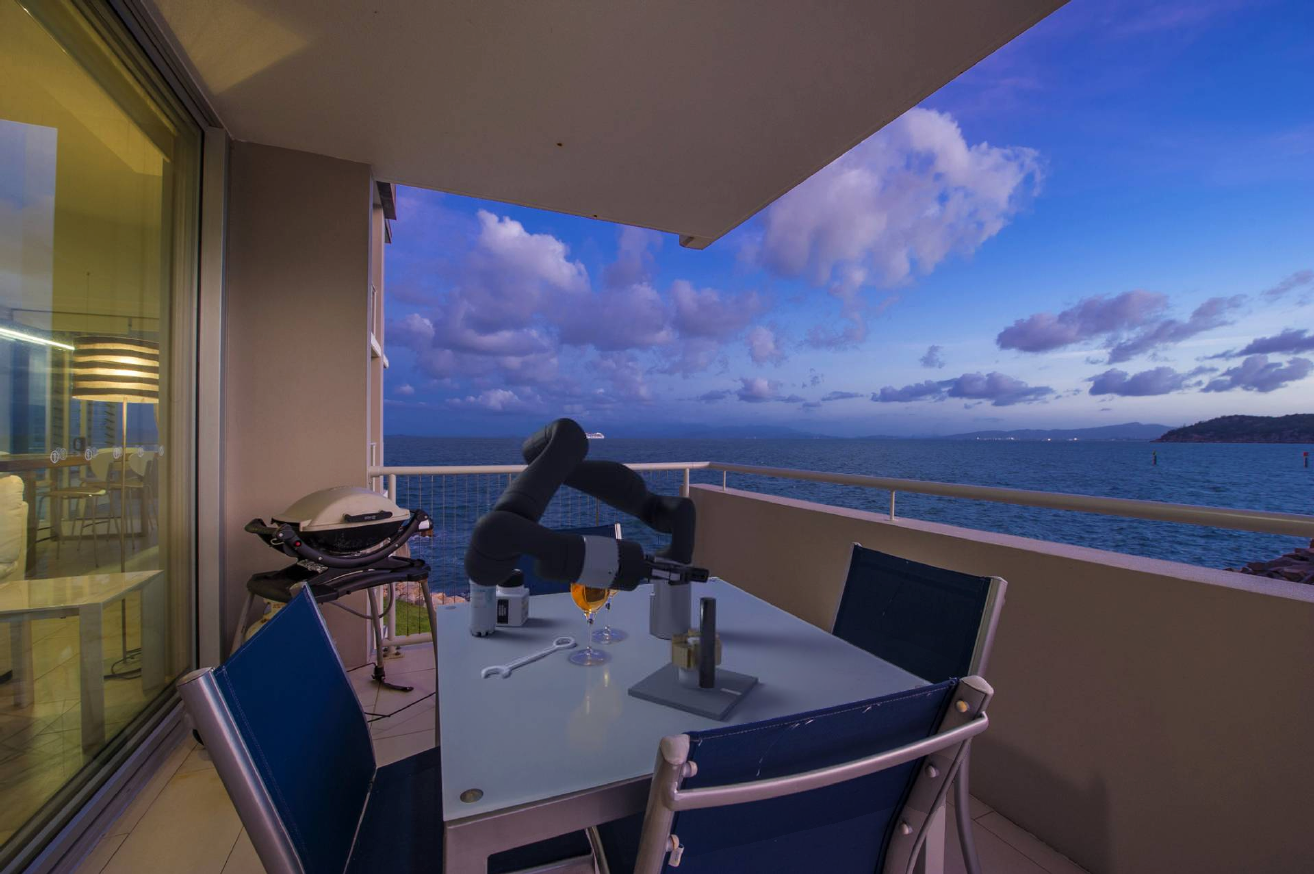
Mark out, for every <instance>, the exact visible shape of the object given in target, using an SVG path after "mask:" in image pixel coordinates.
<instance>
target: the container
mask: <svg viewBox="0 0 1314 874" xmlns="http://www.w3.org/2000/svg"><path fill="white" fill-rule="evenodd" d="M497 589H498V590H496V627H522V626H523V625H524V623H525V622H526V621H527V619H528V618H529V611H530V608H529V607H530V606H529V605H530V589H529V588H528V587H526V588H525V572H524V571H522V570H521V569H517V568H515V570H514V572H513V574H512V575H511V576H510V577H509V578H508V579H507V580H506V581H505V582H503V583H501V584H499V585H497Z"/></svg>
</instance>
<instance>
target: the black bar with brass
mask: <svg viewBox="0 0 1314 874" xmlns="http://www.w3.org/2000/svg"><path fill="white" fill-rule="evenodd" d="M716 618H717V598H715V597H711V596H705V597H704V596H703V597H700V598H699V629H698V628H697V627H695V628H693V627H691V628H688V633H684V634H672V637H671V638H670V639H669V641H670V643H669V644H670V646H669V649H670V650H669V657H670V662H672V663H674V665H676V666H679V667H682V668H685V669H688V668H690V670H695V672H696V675H697V677H698V680H699V686H700V687H701V688H702V690H713V688H714V687H715V668H717V667H718V666H719V665H721V664H722V642H721V640H720V635H719V634H718V633H717V632H716V630H717V628H716V627H717V624H716V623H717V619H716ZM691 637H699V638H700V640H693V645H690V644H687V639H688V638H691Z"/></svg>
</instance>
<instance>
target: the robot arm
mask: <svg viewBox="0 0 1314 874" xmlns="http://www.w3.org/2000/svg"><path fill="white" fill-rule="evenodd" d="M589 449H590V444H589V438H588V436H587V434H586V432H585V431H584V429H583V427H582V426H581V425H580V424H579V422H577V421H575V420H573V419H572V418H570V417H560V418H558V419H555V420H553V421H552V422H550V423H549V424H546V425H545V426H544V427H542V428H540V429H539V430H537V431H536V432H534V433H533V434H532V435H530V436H529V437H528V438H526V440H524V443H523V445H522V447H521V454H522V457H523V460H524V462H525V463H526V465H527V466H526V467H525V468H524V469H523V470H522V471H521V472H520V473H519V474H517V475H516V476H515V478H513V479H512V481H511V482H510V483H509V484H508V485H507V487H506V488H505V489H504V491H503V492H502V494H501V495H500V496H499V497H498V500H497V501H496V503H495V504H494V506H493V509H492V511H490V512H487V513H485V514H483V515H482V516H480V517H479V518H478V519H477V520H476V522H475V524H474V527H473V529H472V533H471V536H470V539H469V542H468V546H467V549H466V552H465V555H464V560H463V565H464V572H465V574H466V575H467V577H468V579H469V578H470V579H471V580H472V581H473V582H474V583H476V584H478V585H480V586H485V587H491V586H496V587H497V586H498V585H499V584H501V583H503V582H505V581H506V580H507V579H508V578H509V577H510V576H511V575H512V574H513V572H514V570H515V569H517V568H516V567H517V566H518V565H519V562H520V559H521V557H522V555H526V556H528V557H530V558H533V570H534V573H535V575H536V576H537V578H539V579H541V580H542V581H543V580H544V581H547V582H555V583H563V584H564V583H566V584H573V585H579V586H583V587H586V588H595V589H602V590H613V591H620V592H634V590H636V589H637V588H638V586H639V585H640V582H641V581H642V580H643V581H646V582H647V583H648V584H653V592H651V593H650V594H649V628H648V629H649V632H648V633H649V634H653V635H654V636H656V637H658V638H661V639H666V640H670V638H671V637H672V634H684V633H688V628H692V621H691V620H692V585H693V584H692V583H693V582H694V583H699V584H700V583H701V584H707V583H708V580H709V574H710V571H709V569H707V568H705V567H701V566H694V565H693V564H692V563H693V555H694V554H693V553H694V550H695V539H696V524H697V511H696V510H697V509H696V506H695V505H696V504H695V503H694V501H693V500H692V499H691V498H690V497H688V496H687V497H686V496H673V495H661V494H657V493H655V492H652V491H651V490H649V489H648V488H647V484H646V482H645V480H644V478H643V477H642V475H640V474H639V473H638V472H637V471H635V470H633V469H631V468H630V467H629V466H626V465H625V464H623V463H621V462H618V461H613V460H606V459H605V460H602V459H597V460H596V459H585V458H586V457H587V455H588V453H589ZM562 485H563V486H567V487H569V488H572V489H574V490H577V491H578V492H582V493H584V494H586V495H588V496H590V497H593V498H594V499H596V500H598V501H599V502H601V503H603V504H605V505H607V506H609V507H611V508H613V509H614V510H615V509H616V510H618V511H619V512H620V511H621V512H623V513H625V514H627V515H630V516H633V517H635V518H636V519H638V520H639V521H640V522H642V523H643V524H645V525H646V526H647V527H648V528H650V529H651V530H653V531H655V532H656V533H657V532H658V533H661V534H668V535H671V540H670V543H669V544H668V545H665V546H664V547H659V548H657V549H656V550H655V551H654V554H652V553H651V554H650V553H644V549H643V547H642V545H641V543H640V542H638V541H635V540H630V539H624V538H623V539H622V538H616V537H609V536H603V535H596V534H595V535H593V534H592V535H591V534H589V535H586V534H585V535H584V534H575V533H570V532H564V531H555V530H554V529H552V528H549V527H547V526H544V525H542V524H540V523H539V522H540V521H541V518H542V517H543V515H544V513H545V511H546V510H547V508H548V506H549V504H550V502H551V501H552V499H553V498H554V496H555V495H556V493H557V491H558V490H559V488H560V487H561V486H562ZM470 579H469V580H470Z"/></svg>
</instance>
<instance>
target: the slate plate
mask: <svg viewBox="0 0 1314 874" xmlns="http://www.w3.org/2000/svg"><path fill="white" fill-rule="evenodd" d="M693 640H700V638H699V637H691V638H688V639H687V644H690V645H693ZM758 683H759V677H756V676H752V675H749V674H745V673H741V672H735V671H732V670H727V669H725V668H724V669H723V668H720V667H715V687H714V688H713V690H702V688H701V687H700V686H699V680H698V677H697V675H696V672H695V670H690V668H688V669H685V668H682V667H679V666H676V665H674V663H672V662H671V661H669V662H668V663H666V664H665V665H664V666H662V667H660V668H659V669H657V670H656V671H654V672H653V673H651V674H649V675H648V676H647V677H645V678H644V679H642V680H640V681H638V682H637V683H636V684H634V685H632V686H631V687H630V688H628V689H627V696H631V697H634V698H638V699H640V700H641V699H642V700H643V701H644V700H645V701H649V702H652V703H656V704H659V705H662V706H665V705H666V707H669V708H672V707H673V709H675V710H679V711H683V710H684V711H683V712H687V713H690V714H693V715H697V716H701V717H703V716H704V717H705V718H707V719H710V720H714V721H716V722H717V721H719V722H720V721H721V720H722V719H723V718H724V716H727V714H728V713H729V712H730V711H731V710H732V709H733V708H734V707H735V706H736V705H737V704H738V703H739V702H740V701H741V700H742V699H744V697H745V696H747V694H749V692H750V691H752V689H753V688H755V687H756V685H758Z"/></svg>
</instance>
